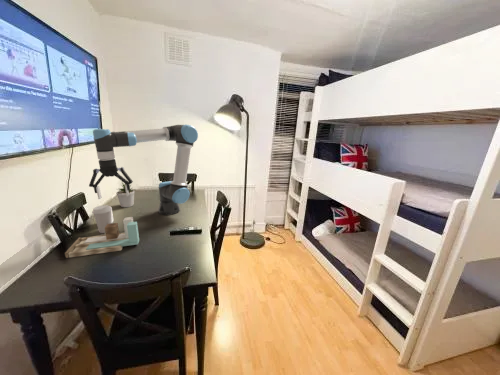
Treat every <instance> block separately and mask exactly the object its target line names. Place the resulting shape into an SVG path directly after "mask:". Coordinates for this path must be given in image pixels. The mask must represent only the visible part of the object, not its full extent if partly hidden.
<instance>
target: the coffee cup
mask: <svg viewBox="0 0 500 375" xmlns="http://www.w3.org/2000/svg"><path fill="white" fill-rule="evenodd" d="M111 207H112V206H110V205H107V204H106V205H98V206H96V207H93V208H92V209H93V210H92V214H93V216H94V220H95V223H96V226H97V229H98V232H99V234H106V233H105V226H106V225H107V224H112V222H111V210H112V211H113V208H112V209H111Z"/></svg>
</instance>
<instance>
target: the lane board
mask: <svg viewBox="0 0 500 375" xmlns="http://www.w3.org/2000/svg"><path fill="white" fill-rule="evenodd" d="M119 234H125V232H119ZM101 236H106V234H103V235H102V234H101V235H93V236H87V237H86V236H85V237H80V236H79V237H78V238H77V239H76V240H75V241H74V242H73V243H72V244H71V246H70V247H68V249H67V250H66V251H65V252H64V256H65V259H68V258H75V257H83V256H88V255H89V256H90V255H91V256H92V255H97V254H104V253H111V252H113V253H114V252H118V251H119V252H120V251H122V250H123V248H124V246H121V245H120V246H112V247H105V248H97V249H90V250H86V249H87V247H88V246H89V244H94V243H102V242H110V241H118V240H125V238H124V239H116V240H108V241H100V242H92V243H84V242H85V241H86V240H87V239H88V238H93V237H101Z"/></svg>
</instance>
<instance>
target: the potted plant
mask: <svg viewBox="0 0 500 375" xmlns="http://www.w3.org/2000/svg"><path fill="white" fill-rule="evenodd" d="M125 185H126V184H125V183H124V182H121V187H122V188H119V187H118V188H117V191H116V194H115V195H116V196H117V199H118V202H119V205H120V207H122V208H129V207H130V208H131V207H132V206H134V204H135V202H134V201H135V190H136V188H134V189H133V187H131V186H132V184H129V185H130V190H128V191H129V196H127V195H126V189H125Z"/></svg>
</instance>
